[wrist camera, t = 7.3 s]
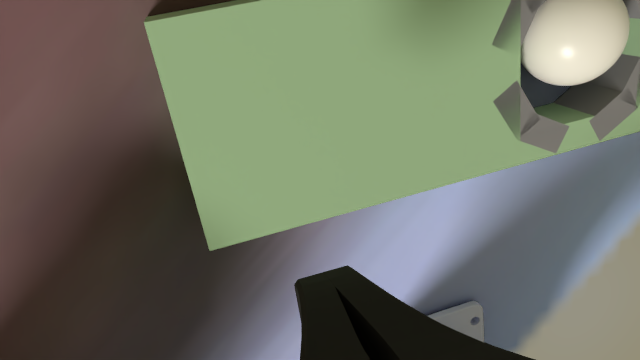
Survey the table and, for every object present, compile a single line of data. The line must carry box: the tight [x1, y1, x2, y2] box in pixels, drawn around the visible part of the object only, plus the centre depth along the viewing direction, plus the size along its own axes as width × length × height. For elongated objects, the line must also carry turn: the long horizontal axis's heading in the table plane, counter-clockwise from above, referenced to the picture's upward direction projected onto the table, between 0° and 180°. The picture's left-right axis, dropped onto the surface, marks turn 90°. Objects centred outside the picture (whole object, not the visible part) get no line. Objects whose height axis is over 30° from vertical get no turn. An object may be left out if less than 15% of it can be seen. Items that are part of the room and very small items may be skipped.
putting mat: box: [144, 0, 640, 251], centre depth 20 cm, size 8×20×2 cm, turn 99°
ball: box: [520, 0, 630, 86], centre depth 20 cm, size 4×4×4 cm
